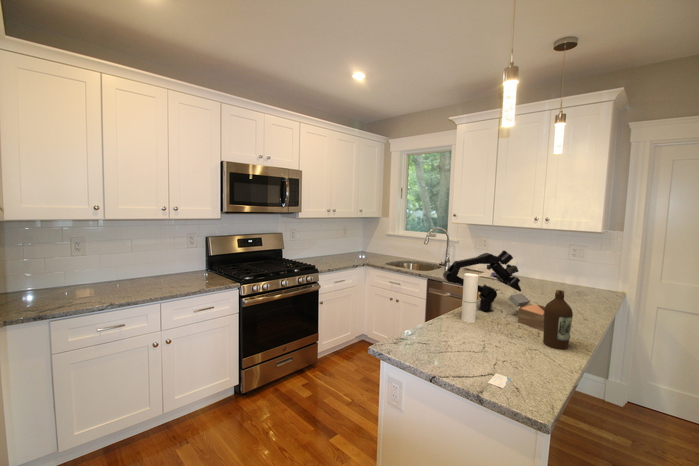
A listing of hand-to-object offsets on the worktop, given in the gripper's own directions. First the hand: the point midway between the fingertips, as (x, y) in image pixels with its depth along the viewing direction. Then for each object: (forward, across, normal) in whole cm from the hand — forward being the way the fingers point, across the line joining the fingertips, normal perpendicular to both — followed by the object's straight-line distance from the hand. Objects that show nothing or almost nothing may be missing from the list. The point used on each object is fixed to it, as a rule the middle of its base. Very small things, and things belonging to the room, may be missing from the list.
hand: (516, 289), depth 188 cm
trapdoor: (+7, -15, +7) cm, 18 cm away
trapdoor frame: (+12, -20, +7) cm, 25 cm away
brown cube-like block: (+14, -1, +5) cm, 15 cm away
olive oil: (+6, -47, +14) cm, 50 cm away
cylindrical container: (-15, -19, +34) cm, 42 cm away
